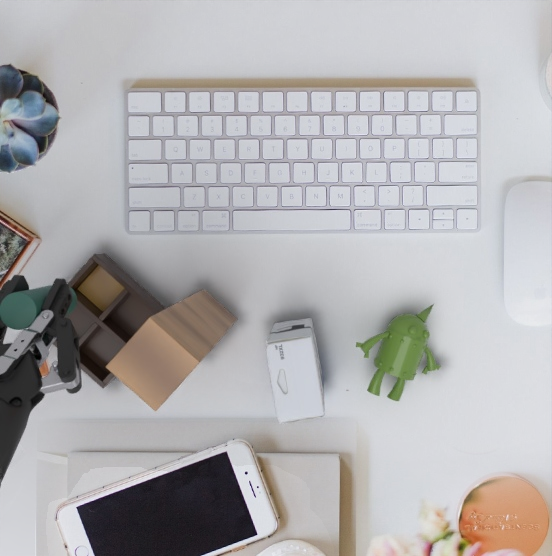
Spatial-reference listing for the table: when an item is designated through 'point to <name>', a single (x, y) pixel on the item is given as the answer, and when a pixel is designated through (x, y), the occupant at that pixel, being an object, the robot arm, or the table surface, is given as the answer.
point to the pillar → (170, 347)
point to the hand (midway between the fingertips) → (42, 283)
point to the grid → (107, 314)
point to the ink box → (295, 371)
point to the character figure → (400, 351)
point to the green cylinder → (26, 307)
